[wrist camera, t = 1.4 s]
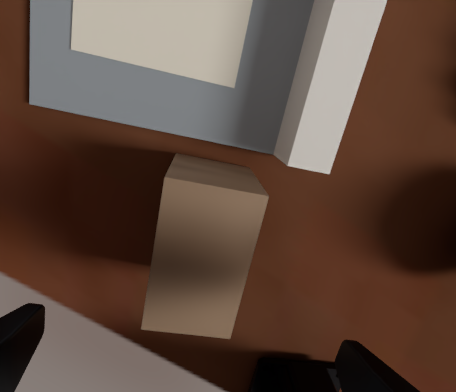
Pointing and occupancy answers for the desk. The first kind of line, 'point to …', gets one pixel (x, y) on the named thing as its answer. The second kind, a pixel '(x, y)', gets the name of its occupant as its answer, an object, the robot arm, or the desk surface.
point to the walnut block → (203, 246)
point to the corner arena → (209, 68)
